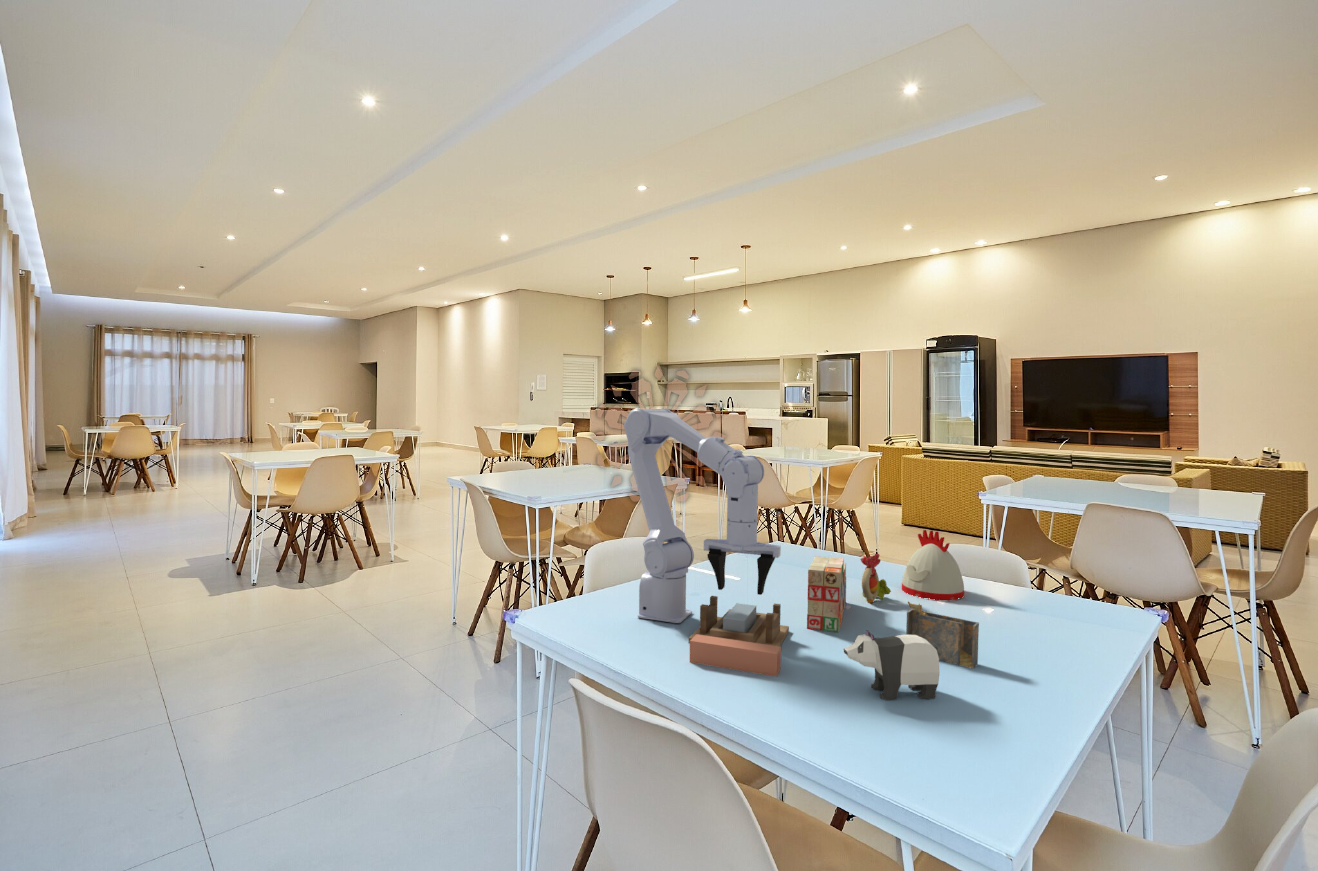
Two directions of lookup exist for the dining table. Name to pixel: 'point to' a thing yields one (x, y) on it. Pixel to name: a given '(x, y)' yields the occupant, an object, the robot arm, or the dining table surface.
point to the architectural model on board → (946, 635)
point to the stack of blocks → (826, 593)
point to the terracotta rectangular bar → (735, 654)
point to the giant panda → (898, 663)
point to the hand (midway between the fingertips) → (740, 590)
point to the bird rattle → (872, 580)
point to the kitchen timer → (933, 571)
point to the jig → (761, 632)
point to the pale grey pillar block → (740, 618)
